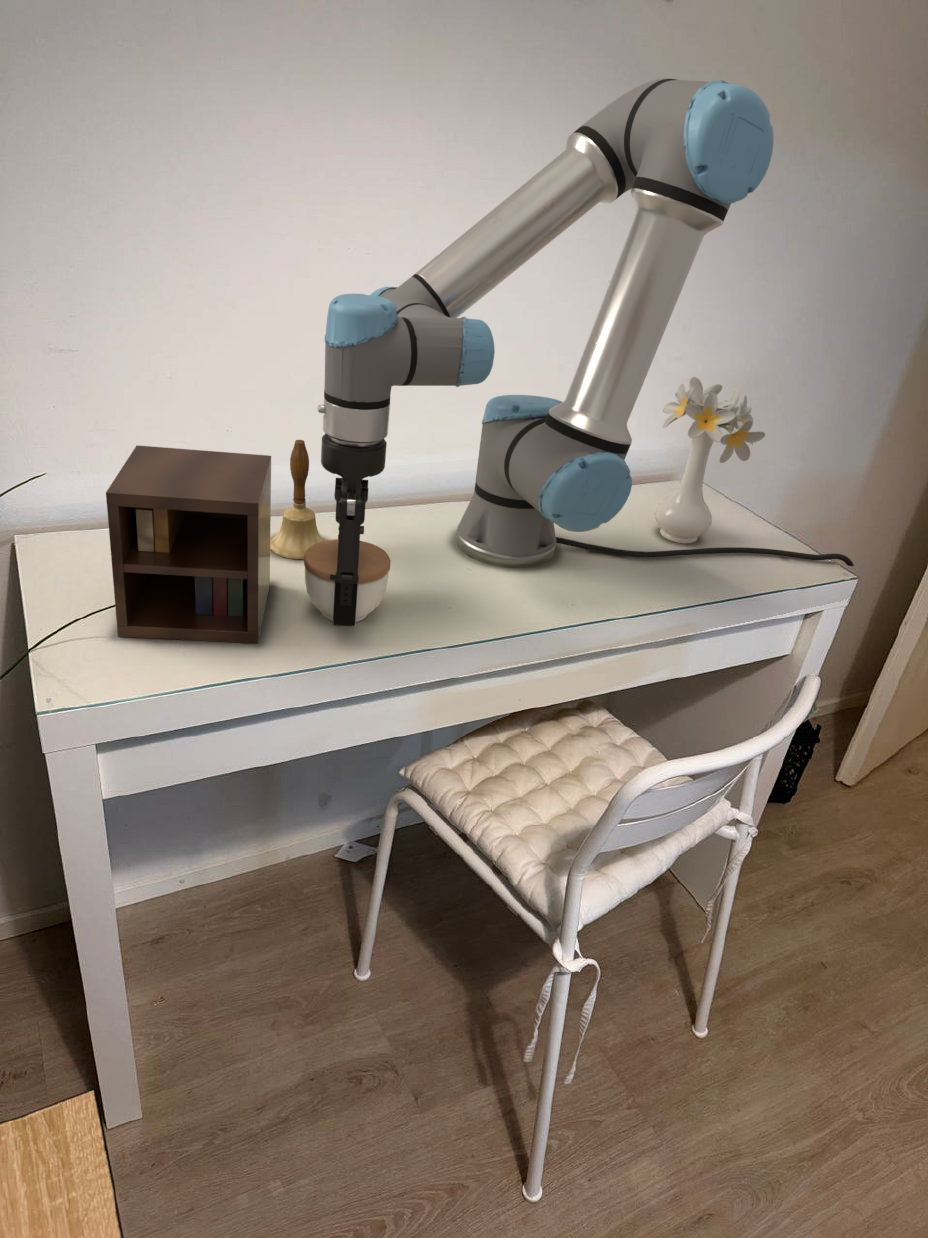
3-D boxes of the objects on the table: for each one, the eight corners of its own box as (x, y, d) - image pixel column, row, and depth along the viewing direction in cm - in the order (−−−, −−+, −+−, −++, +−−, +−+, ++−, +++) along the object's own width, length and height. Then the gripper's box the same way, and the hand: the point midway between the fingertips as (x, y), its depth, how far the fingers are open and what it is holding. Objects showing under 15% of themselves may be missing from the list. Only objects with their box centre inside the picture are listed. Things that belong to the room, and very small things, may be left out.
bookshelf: (269, 584, 121) (271, 455, 113) (258, 643, 109) (258, 503, 100) (144, 577, 119) (136, 445, 110) (117, 636, 106) (105, 492, 98)
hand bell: (289, 564, 127) (292, 455, 119) (258, 541, 132) (259, 435, 124) (338, 552, 132) (344, 446, 124) (307, 530, 137) (310, 427, 129)
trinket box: (372, 639, 112) (378, 571, 108) (289, 622, 114) (291, 554, 109) (395, 600, 122) (401, 536, 117) (318, 585, 123) (321, 520, 118)
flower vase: (691, 566, 142) (733, 409, 130) (617, 519, 155) (649, 372, 143) (750, 556, 148) (796, 405, 136) (674, 511, 162) (709, 370, 149)
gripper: (326, 403, 116) (319, 559, 126) (317, 469, 96) (310, 648, 106) (385, 408, 117) (374, 562, 127) (388, 474, 97) (374, 651, 107)
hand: (345, 601), depth 117 cm, fingers closed on trinket box, 11 cm apart
